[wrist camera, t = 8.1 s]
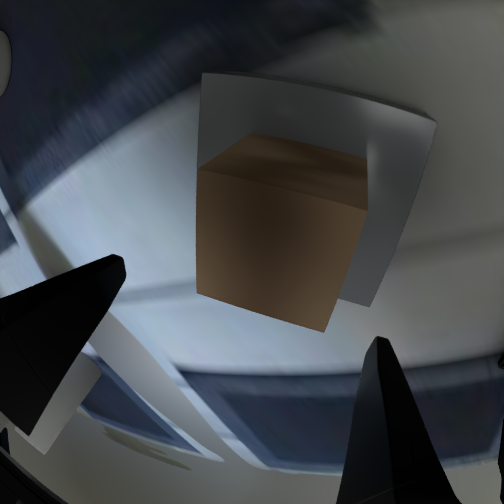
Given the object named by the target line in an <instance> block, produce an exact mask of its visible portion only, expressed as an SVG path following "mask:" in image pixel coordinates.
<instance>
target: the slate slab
mask: <svg viewBox="0 0 504 504" xmlns="http://www.w3.org/2000/svg"><path fill="white" fill-rule="evenodd" d="M437 124H438V122H436V121H435V120H434V119H433V118H431V117H430V116H429V115H427V114H426V113H423V112H420V111H418V110H415V109H412V108H409V107H406V106H402V105H399V104H396V103H393V102H390V101H386V100H383V99H379V98H376V97H372V96H368V95H365V94H361V93H357V92H353V91H349V90H345V89H341V88H336V87H332V86H327V85H322V84H317V83H312V82H307V81H302V80H296V79H290V78H284V77H278V76H271V75H263V74H255V73H247V72H237V71H226V70H223V71H214V72H205V73H202V81H201V96H200V113H199V132H198V156H197V169H198V168H200V167H201V166H203V165H204V164H205V163H207V162H208V161H210V160H211V159H213V158H214V157H216V156H217V155H218V154H220V153H221V152H223V151H224V150H226V149H227V148H229V147H230V146H232V145H233V144H235V143H236V142H238V141H239V140H241V139H242V138H244V137H245V136H247V135H248V134H250V133H251V132H252V133H257V134H263V135H268V136H273V137H278V138H283V139H288V140H293V141H297V142H302V143H306V144H310V145H315V146H319V147H323V148H327V149H331V150H335V151H339V152H343V153H347V154H350V155H354V156H358V157H361V158H365V159H367V168H368V212H367V215H366V219H365V222H364V225H363V228H362V231H361V234H360V237H359V240H358V243H357V246H356V249H355V252H354V255H353V258H352V261H351V263H350V266H349V269H348V272H347V275H346V277H345V280H344V283H343V285H342V288H341V291H340V293H339V296H338V298H339V299H342V300H346V301H349V302H353V303H356V304H360V305H364V306H367V307H370V305H371V303H372V301H373V298H374V296H375V294H376V292H377V290H378V288H379V285H380V283H381V281H382V279H383V277H384V274H385V272H386V270H387V267H388V265H389V263H390V260H391V258H392V256H393V253H394V251H395V248H396V246H397V244H398V241H399V239H400V236H401V233H402V231H403V228H404V226H405V223H406V220H407V218H408V215H409V212H410V210H411V207H412V204H413V201H414V199H415V196H416V193H417V190H418V187H419V184H420V181H421V178H422V175H423V172H424V169H425V165H426V162H427V159H428V156H429V152H430V149H431V145H432V142H433V138H434V135H435V131H436V127H437ZM196 196H197V190H196Z"/></svg>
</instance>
